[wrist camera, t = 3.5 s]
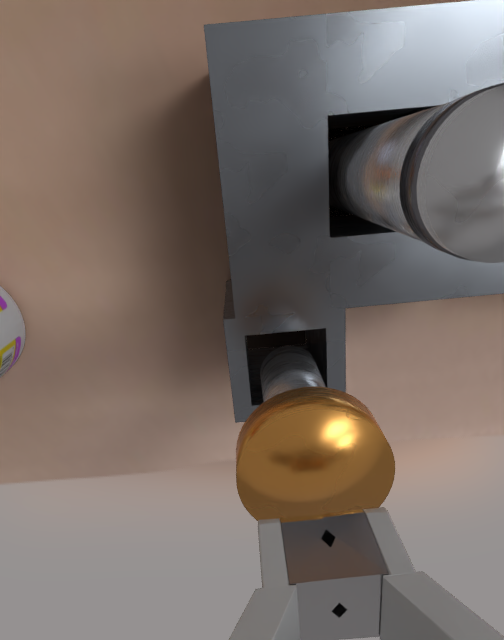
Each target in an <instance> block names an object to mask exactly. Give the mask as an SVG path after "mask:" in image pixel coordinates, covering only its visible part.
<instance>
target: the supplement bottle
mask: <svg viewBox="0 0 504 640" xmlns="http://www.w3.org/2000/svg"><path fill="white" fill-rule="evenodd" d="M25 334H26V333H25V324H24V320H23V317H22V314H21V312H20V310H19V308H18V306H17V304H16V303H15V301H14V300H13V298H12V297H11V296H10V295H9V294H8V293H7V292H6V291H5V290H4V289H3V288H2V287H1V286H0V377H1V376H3V375H4V374H5V373H6V372H7V371H8V370H9V369H10V368H11V367H12V366H13V365H14V364H15V362H16V361H17V360H18V358H19V357H20V355H21V353H22V350H23V348H24V344H25Z"/></svg>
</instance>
